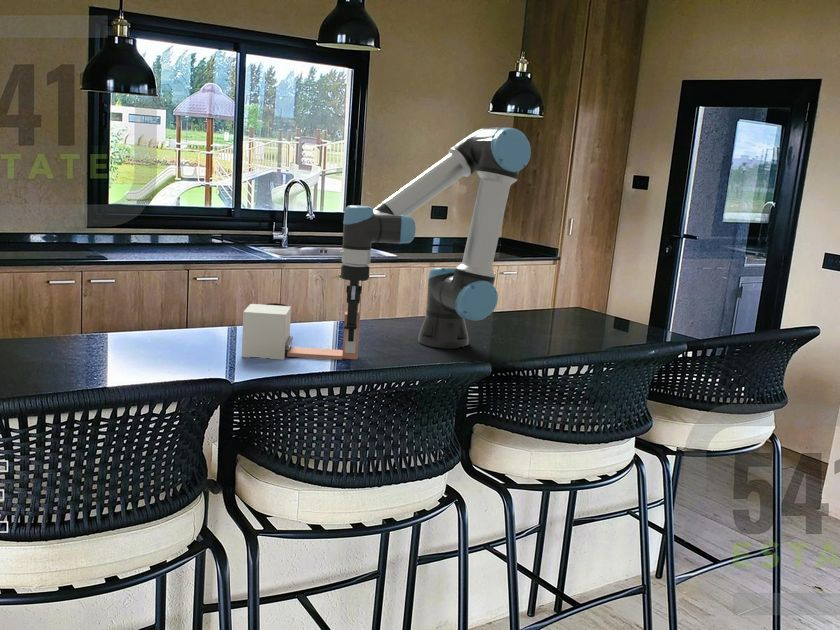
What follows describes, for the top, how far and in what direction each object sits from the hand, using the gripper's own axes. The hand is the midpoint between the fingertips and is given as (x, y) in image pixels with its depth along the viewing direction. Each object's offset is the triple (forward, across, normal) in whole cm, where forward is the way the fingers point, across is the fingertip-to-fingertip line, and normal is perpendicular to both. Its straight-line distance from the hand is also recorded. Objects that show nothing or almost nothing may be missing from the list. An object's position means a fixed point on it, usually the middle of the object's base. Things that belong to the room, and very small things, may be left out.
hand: (350, 350), depth 227 cm
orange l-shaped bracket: (+2, 0, -8) cm, 8 cm away
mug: (+2, -18, -22) cm, 29 cm away
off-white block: (+2, 0, -22) cm, 23 cm away
